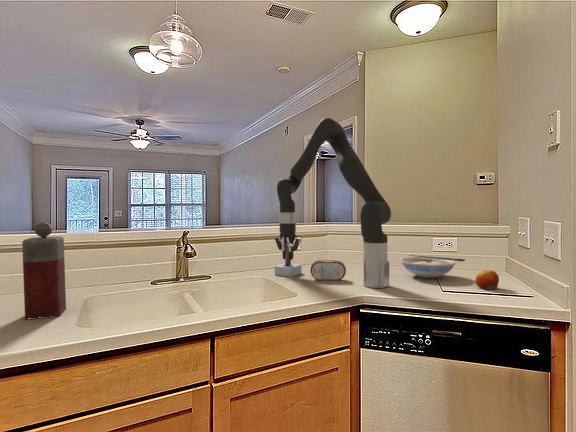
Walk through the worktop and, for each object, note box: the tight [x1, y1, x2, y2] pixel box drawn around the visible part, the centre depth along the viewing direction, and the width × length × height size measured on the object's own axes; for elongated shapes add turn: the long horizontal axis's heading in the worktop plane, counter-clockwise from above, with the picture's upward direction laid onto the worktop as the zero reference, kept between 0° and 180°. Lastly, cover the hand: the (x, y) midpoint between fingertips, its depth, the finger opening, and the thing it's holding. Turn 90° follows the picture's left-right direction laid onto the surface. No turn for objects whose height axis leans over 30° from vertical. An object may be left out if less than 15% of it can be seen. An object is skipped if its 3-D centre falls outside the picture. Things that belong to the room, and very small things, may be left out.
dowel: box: [284, 244, 292, 265], centre depth 171 cm, size 3×3×10 cm
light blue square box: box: [273, 263, 303, 278], centre depth 171 cm, size 9×9×4 cm
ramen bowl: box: [400, 254, 466, 279], centre depth 161 cm, size 25×23×8 cm
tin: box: [310, 259, 347, 282], centre depth 157 cm, size 15×3×8 cm, turn 84°
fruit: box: [474, 269, 500, 291], centre depth 139 cm, size 8×8×8 cm
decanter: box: [21, 222, 67, 320], centre depth 113 cm, size 9×11×28 cm
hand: (287, 259), depth 171 cm, fingers closed on dowel, 2 cm apart
